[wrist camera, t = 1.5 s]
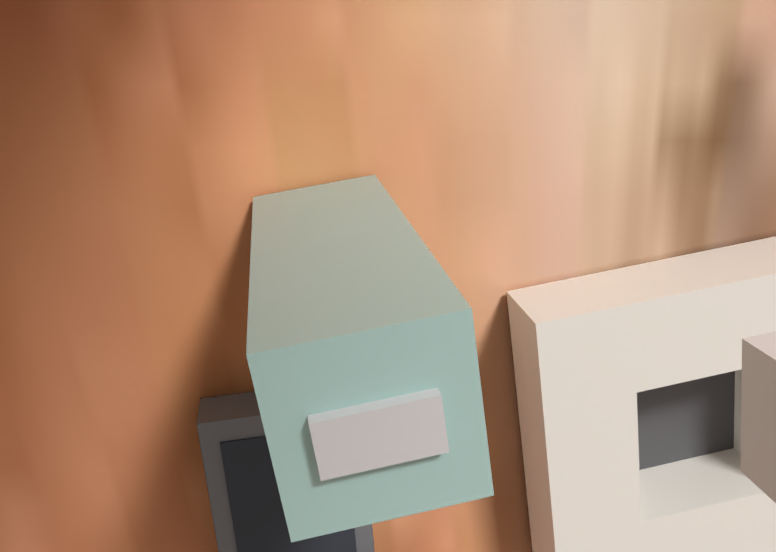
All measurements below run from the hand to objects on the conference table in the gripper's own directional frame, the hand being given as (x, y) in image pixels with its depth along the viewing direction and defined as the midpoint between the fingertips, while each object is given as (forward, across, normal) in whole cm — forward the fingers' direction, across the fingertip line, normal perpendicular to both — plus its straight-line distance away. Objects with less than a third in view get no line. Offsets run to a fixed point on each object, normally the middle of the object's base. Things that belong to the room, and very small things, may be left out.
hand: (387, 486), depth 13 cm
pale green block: (+13, 0, 0) cm, 13 cm away
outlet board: (+13, +14, -8) cm, 21 cm away
